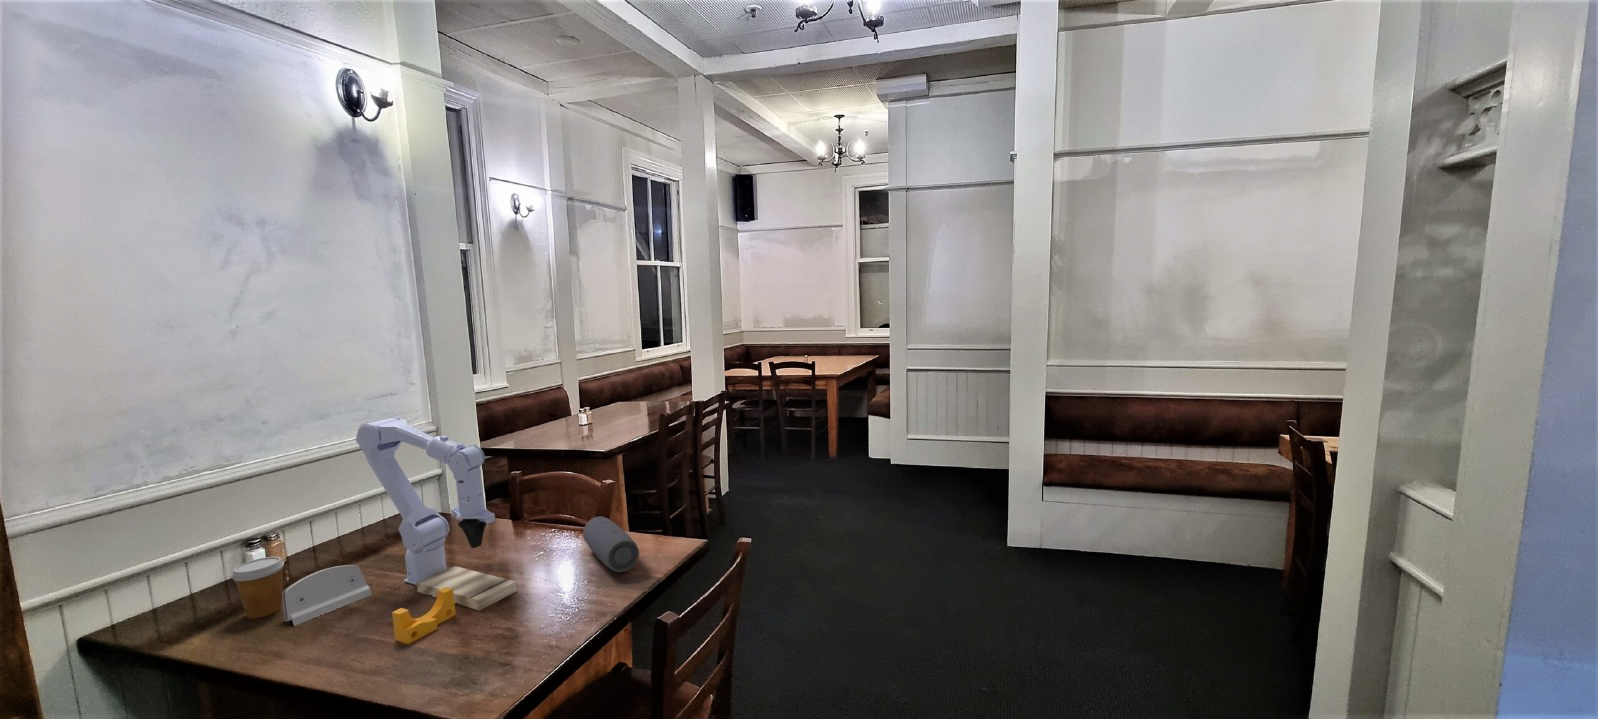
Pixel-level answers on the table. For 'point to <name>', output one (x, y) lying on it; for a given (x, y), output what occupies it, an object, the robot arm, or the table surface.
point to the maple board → (468, 587)
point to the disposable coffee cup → (260, 586)
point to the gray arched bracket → (324, 593)
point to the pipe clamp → (423, 618)
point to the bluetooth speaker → (611, 544)
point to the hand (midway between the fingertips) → (476, 546)
